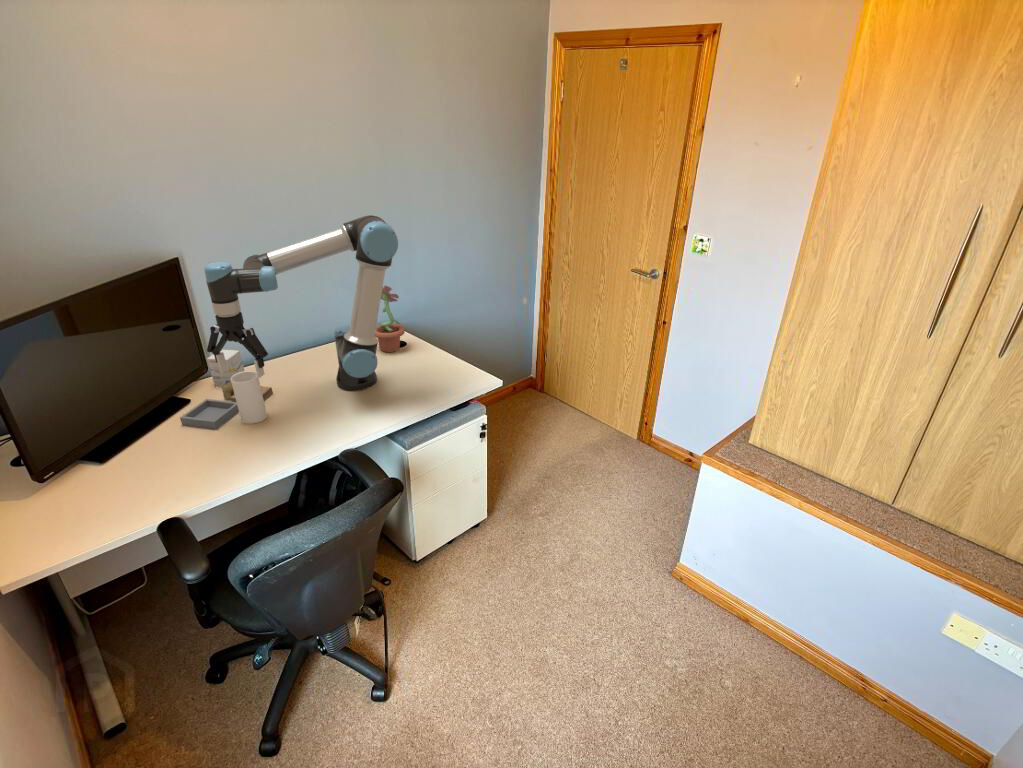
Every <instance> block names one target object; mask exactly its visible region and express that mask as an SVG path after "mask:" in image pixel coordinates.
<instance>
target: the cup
mask: <svg viewBox="0 0 1023 768" xmlns="http://www.w3.org/2000/svg"><path fill="white" fill-rule="evenodd" d="M231 383H232V387H233V390H234V394H235V398H236V402H237V406H238V409H239V412H238V414H239V416H240V421H241V422H242V423H243V424H246V425H249V424H252V425H253V424H258V423H261V422H262V421H264V420H265V419H266V418H267V417H268V414H267V408H266V405H265V400H264V399H263V395H262V391H261V387H260V386H261V383H260V378H258V377H257V372H256V371H253V370H246V371H244V372H239V373H237V374H235V375H233V376H232V377H231Z"/></svg>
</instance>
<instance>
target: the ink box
mask: <svg viewBox="0 0 1023 768" xmlns="http://www.w3.org/2000/svg"><path fill="white" fill-rule="evenodd" d="M220 352H223V353H224V357H225V361H226V365H227V369H228V370H227V371H225V372H224V373H220V370H219V366H218V363H216V360H215V356H214V354H213V353H212V354H211V355H209V357H207V358H206V360H207V364H208V368H209V371H210V373H211V378H212V381H213V384H214V386H217V387H223V386H224V385H225V384H227V383H228V382H230V381H231V377H232V376H233V375H235V374H237V373H239V372H244V371H245V366H244V363H243V359H242V355H241V352H240V350H234V349H222V351H220Z"/></svg>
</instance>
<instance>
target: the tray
mask: <svg viewBox="0 0 1023 768" xmlns="http://www.w3.org/2000/svg"><path fill="white" fill-rule="evenodd" d="M237 414H239V409H238V406H237V402H231V401H230V400H220V399H211V398H205V399H204V400H202V401H201V402H199V404H197V405H196V406H194V407H193V408H192V409H190V410H189V411H187V412H186V413H183V415H181V416H180V417H179V420H180V422H181V426H185V427H193V428H194V427H195V428H201V429H202V428H203V429H208V430H209V429H210V430H214V431H215V430H218V429H219V428H221V427H222V426H224V425H225V424H226V423H227V422H229V420H231V419H232V418H233V417H234V416H236V415H237Z"/></svg>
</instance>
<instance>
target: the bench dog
mask: <svg viewBox="0 0 1023 768" xmlns="http://www.w3.org/2000/svg"><path fill="white" fill-rule="evenodd" d="M221 390H222V394H223V398H224V400H225V401H231V399H230V397H232V396H233V395H234V390H233V387H232V383H231V381H230V382H228V383H227V384H225V385H224V386H221Z"/></svg>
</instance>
